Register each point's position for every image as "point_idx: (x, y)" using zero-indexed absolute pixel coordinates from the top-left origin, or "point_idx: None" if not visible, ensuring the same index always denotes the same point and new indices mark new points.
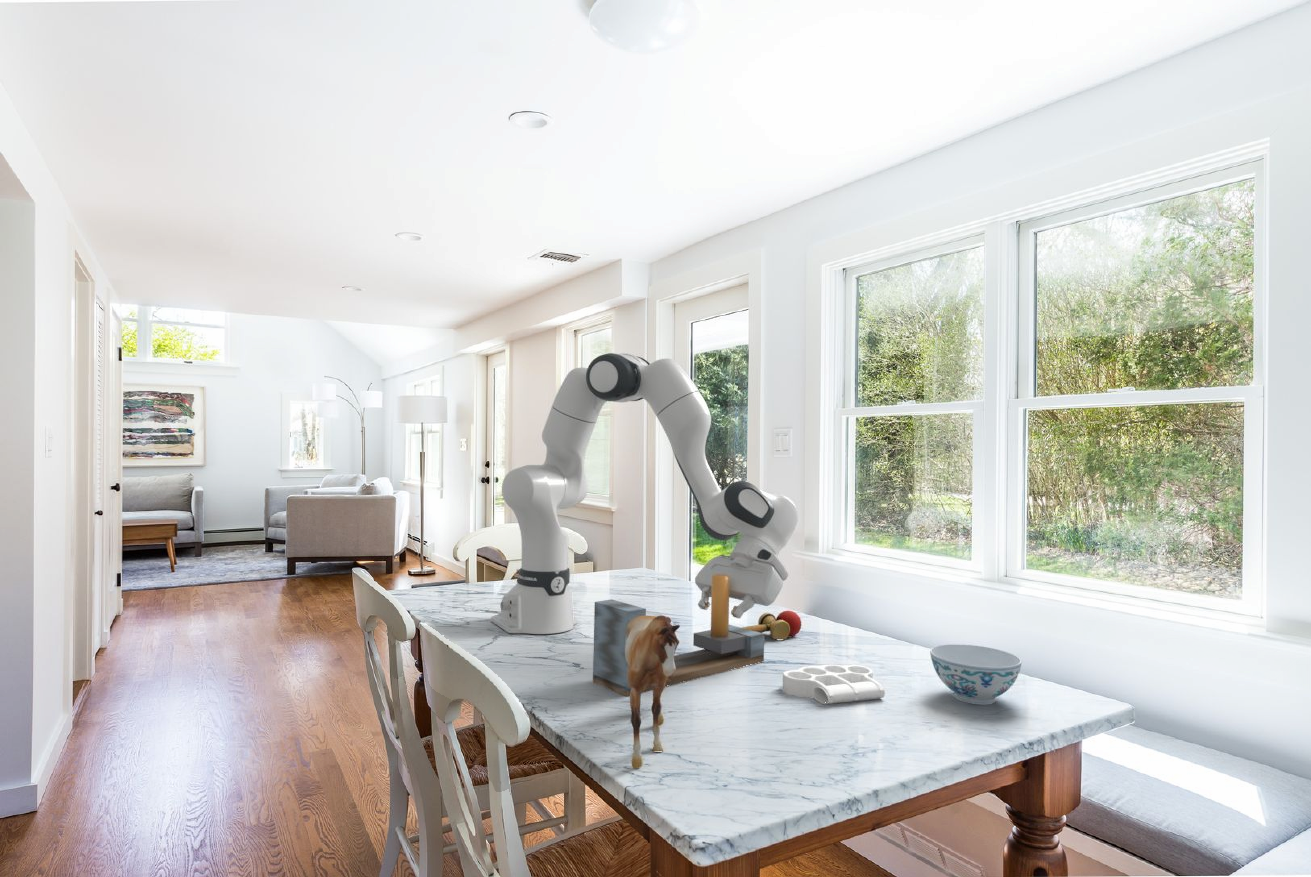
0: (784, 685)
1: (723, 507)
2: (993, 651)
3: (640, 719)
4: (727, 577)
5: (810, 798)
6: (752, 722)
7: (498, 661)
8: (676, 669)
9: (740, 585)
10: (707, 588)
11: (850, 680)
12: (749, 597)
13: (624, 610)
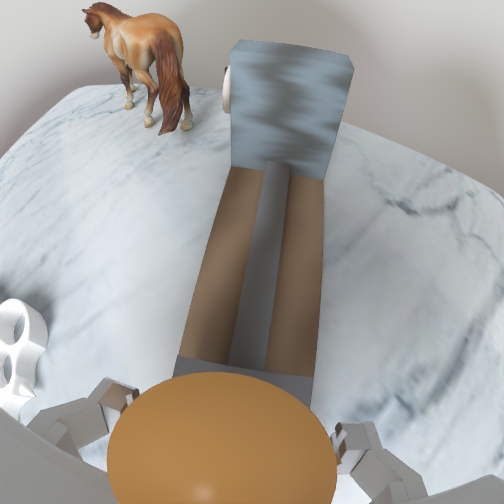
0: (35, 312)
1: None
2: None
3: (126, 66)
4: (110, 454)
5: (28, 134)
6: (62, 188)
7: (449, 170)
8: (240, 251)
9: (74, 496)
10: (397, 495)
11: None
12: (31, 423)
13: (251, 40)
